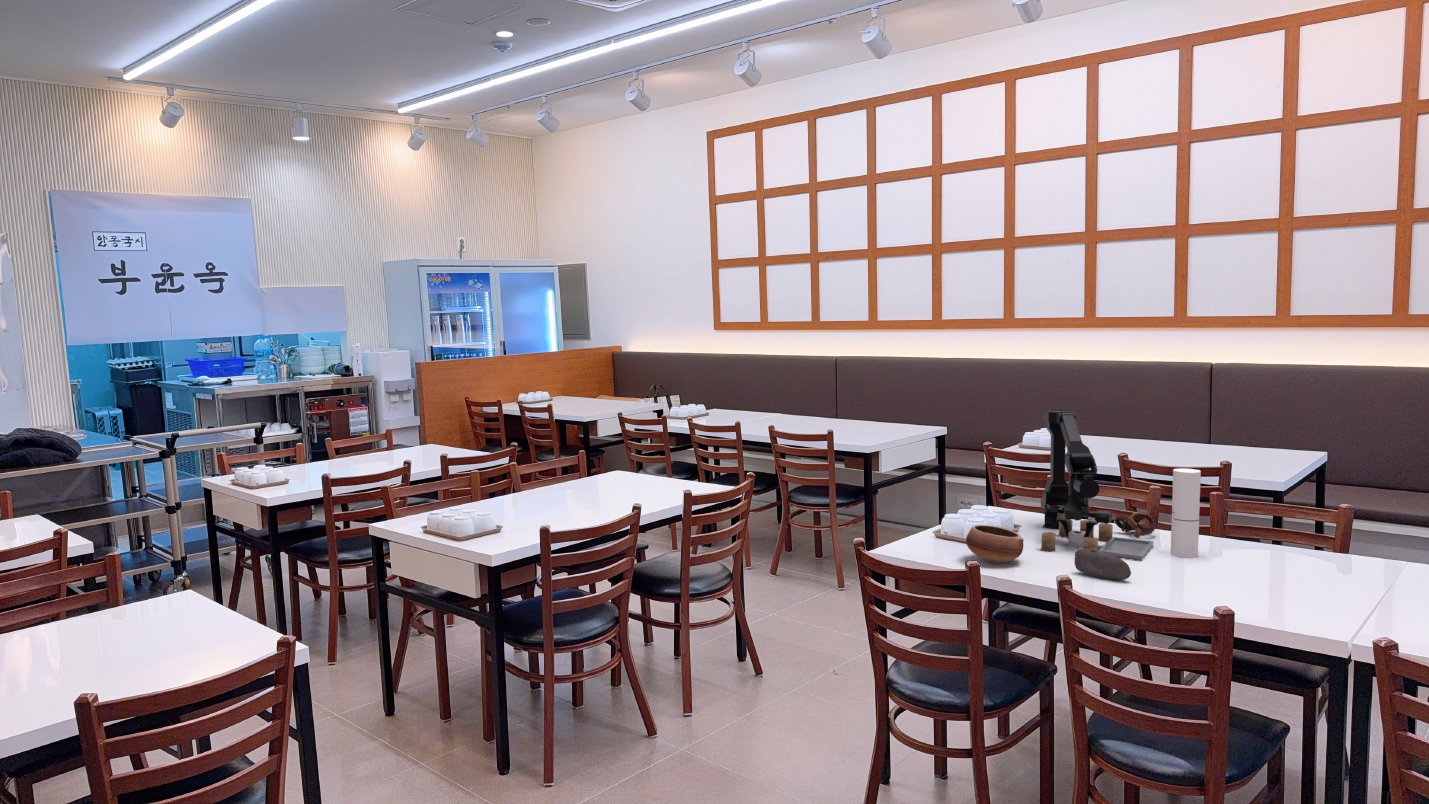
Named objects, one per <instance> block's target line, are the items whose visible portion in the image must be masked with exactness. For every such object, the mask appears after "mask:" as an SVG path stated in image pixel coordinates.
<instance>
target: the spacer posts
mask: <svg viewBox="0 0 1429 804" xmlns="http://www.w3.org/2000/svg"><path fill="white" fill-rule="evenodd" d="M1087 521H1089V520H1088V519H1081V520H1079V522H1080V523H1079V531H1085V532H1086V522H1087ZM1073 523H1074V522H1073V519H1071V530H1073ZM1094 528H1095V526H1094V527H1093V529H1092V531H1091V534H1090V536H1089V537H1084V538H1083V547H1082V548H1087V549H1092V550H1096V551H1099V542H1102V543H1107V542H1108V541H1109V540H1110V539H1111V538H1112V537H1113V532H1114V531H1113V524H1111V523H1107V524H1106V523H1098V538H1097V537H1094V536H1095V535H1094V533H1095V532H1094ZM1058 536H1059V537H1061V538H1067V535H1066V532H1065V529H1064V527H1063V525H1062V524H1061V522H1060V521H1059V529H1058ZM1056 537H1057V534H1056V533H1054V532H1050V531H1048V532H1047V531H1046V532H1045V531H1043V532H1041V551H1043V552H1047V551H1048V552H1049V553H1050V552H1056V551H1057V550H1056V541H1057V539H1056ZM1055 550H1056V551H1055Z"/></svg>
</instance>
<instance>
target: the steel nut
mask: <svg viewBox="0 0 1429 804" xmlns="http://www.w3.org/2000/svg"><path fill="white" fill-rule="evenodd" d="M1085 533H1086V532H1085V531H1080V530H1076V529H1072V530H1071V531H1070V532H1069V533H1068V538H1067V541H1068V542H1067V544H1068V545H1067V546H1068V547H1074V546H1076V547H1075V548H1083V538H1084V537H1085Z"/></svg>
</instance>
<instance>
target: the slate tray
mask: <svg viewBox="0 0 1429 804" xmlns="http://www.w3.org/2000/svg"><path fill="white" fill-rule="evenodd" d="M1154 543H1155V542H1154V541H1152V540H1144V539H1143V540H1142V539H1137V538H1135V539H1134V538H1128V537H1126V538H1125V537H1117V536H1112V538H1111V539H1110V540H1109V541H1108V542H1105V544H1104V545H1103V546H1102V547H1101V548H1100V549H1098V551H1099V552H1104V553H1107V554H1110V555H1113V556H1115V557H1118V558H1120V559H1121V558H1125V559H1124V560H1129V559H1133V560H1132V561H1137V560H1138V561H1139V562H1142V561H1143V560H1144V559H1145V557H1146V556H1147V555H1148V554H1149V553H1150V551H1151V550H1152V549H1153V547H1154ZM1151 548H1152V549H1151ZM1150 549H1151V550H1150ZM1147 553H1148V554H1147ZM1143 558H1144V559H1143ZM1142 559H1143V560H1142Z"/></svg>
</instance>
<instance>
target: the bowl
mask: <svg viewBox="0 0 1429 804" xmlns="http://www.w3.org/2000/svg"><path fill="white" fill-rule="evenodd" d="M965 540H966V541H965V543H966V547H967V548H968V549H969V551H970V552H971V553H973V554H974V555H976V557H979V558H981V559H983V560H985V561H987V562H990V563H996V562H998V564H1000V562H1002V563H1006V562H1007V563H1008V562H1011V561H1014V560H1016V559H1017V558H1019V557H1020V556H1021V555H1022V554H1023V551H1024V538H1023V537H1022V536H1021V534H1019V533H1018V532H1015V531H1014V530H1011V529H1009V528H1006V527H1005V528H1004V527H1002V526H996V525H995V526H994V525H987V524H976V525H973V526H972V527H971V528H970V529H969V531H968V532H967V535H966V538H965Z"/></svg>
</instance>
